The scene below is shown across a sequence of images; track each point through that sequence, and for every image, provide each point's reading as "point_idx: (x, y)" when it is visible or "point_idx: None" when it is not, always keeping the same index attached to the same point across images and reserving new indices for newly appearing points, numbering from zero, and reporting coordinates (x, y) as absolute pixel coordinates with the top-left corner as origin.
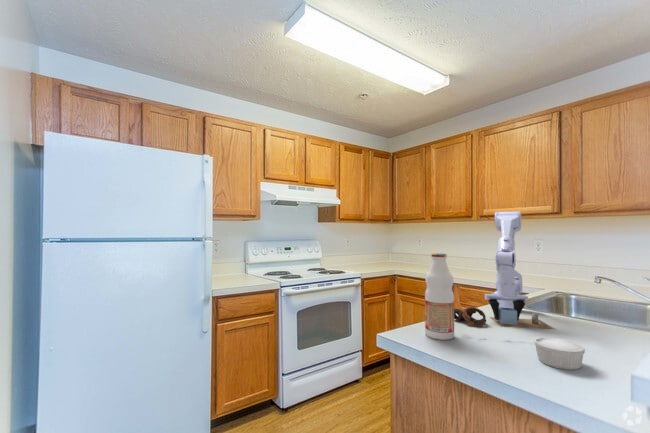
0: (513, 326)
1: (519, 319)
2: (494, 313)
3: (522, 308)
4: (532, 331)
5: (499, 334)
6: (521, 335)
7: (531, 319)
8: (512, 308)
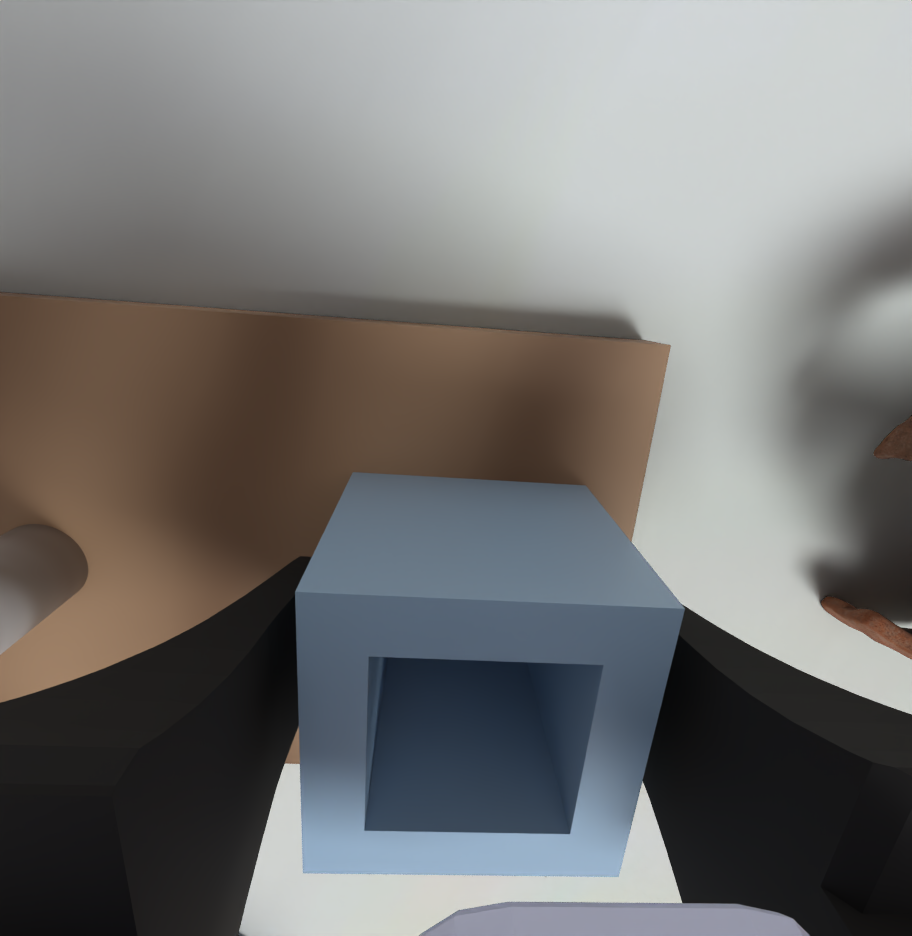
0: (460, 365)
1: None
2: None
3: (99, 672)
4: None
5: (768, 142)
6: (443, 125)
7: None
8: (311, 792)
